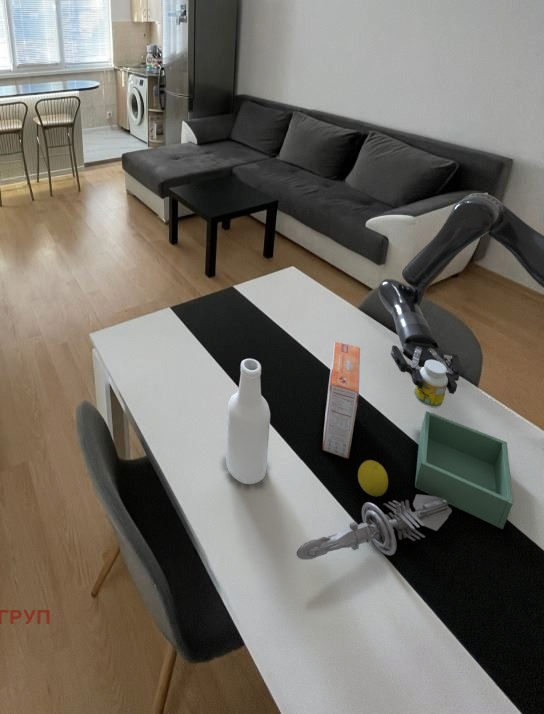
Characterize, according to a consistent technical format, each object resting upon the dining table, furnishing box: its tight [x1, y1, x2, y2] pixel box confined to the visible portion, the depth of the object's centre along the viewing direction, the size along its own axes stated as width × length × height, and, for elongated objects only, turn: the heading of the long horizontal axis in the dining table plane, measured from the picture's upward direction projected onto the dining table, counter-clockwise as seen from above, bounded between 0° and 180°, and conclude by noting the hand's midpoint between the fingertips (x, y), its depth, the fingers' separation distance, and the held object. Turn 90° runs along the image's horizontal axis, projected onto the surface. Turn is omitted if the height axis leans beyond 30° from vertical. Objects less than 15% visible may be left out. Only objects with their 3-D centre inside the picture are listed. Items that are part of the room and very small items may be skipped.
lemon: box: [357, 459, 389, 497], centre depth 89 cm, size 6×6×8 cm
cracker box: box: [322, 341, 361, 460], centre depth 99 cm, size 14×6×21 cm, turn 154°
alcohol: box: [225, 358, 271, 485], centre depth 91 cm, size 9×9×30 cm
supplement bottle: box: [414, 360, 448, 409], centre depth 95 cm, size 5×5×10 cm
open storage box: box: [414, 410, 514, 530], centre depth 90 cm, size 15×15×8 cm
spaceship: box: [295, 494, 453, 561], centre depth 80 cm, size 8×35×8 cm
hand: (436, 388), depth 92 cm, fingers closed on supplement bottle, 5 cm apart
